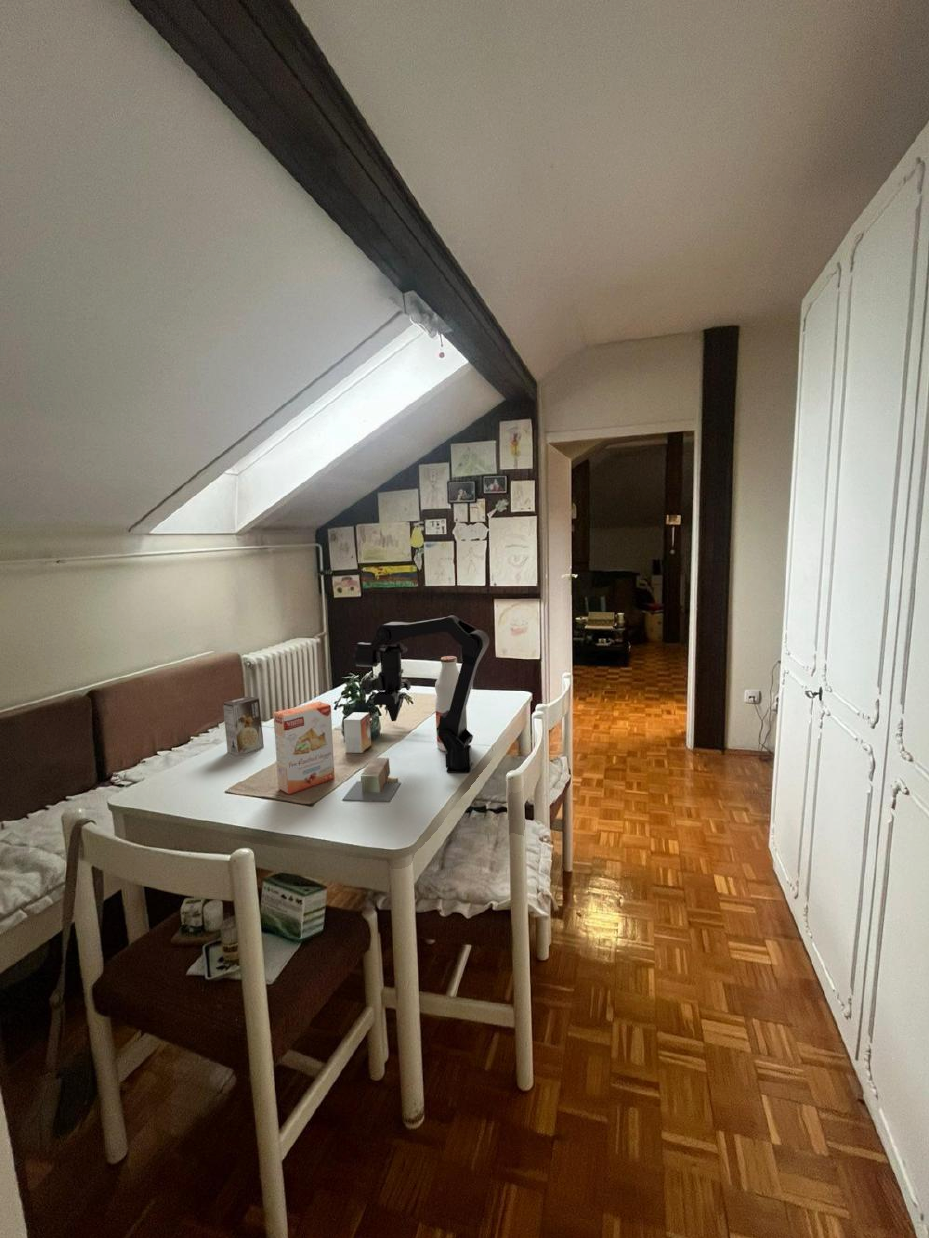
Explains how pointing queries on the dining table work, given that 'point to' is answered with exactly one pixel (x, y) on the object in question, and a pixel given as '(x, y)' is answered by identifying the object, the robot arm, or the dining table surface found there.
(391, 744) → the dining table surface
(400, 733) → the dining table surface
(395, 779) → the kerb
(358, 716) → the small box
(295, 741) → the cracker box
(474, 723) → the dining table surface
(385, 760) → the walnut block
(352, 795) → the mat
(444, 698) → the fruit juice
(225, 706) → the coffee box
